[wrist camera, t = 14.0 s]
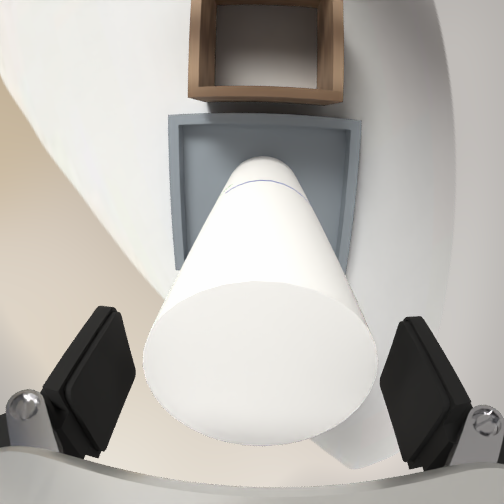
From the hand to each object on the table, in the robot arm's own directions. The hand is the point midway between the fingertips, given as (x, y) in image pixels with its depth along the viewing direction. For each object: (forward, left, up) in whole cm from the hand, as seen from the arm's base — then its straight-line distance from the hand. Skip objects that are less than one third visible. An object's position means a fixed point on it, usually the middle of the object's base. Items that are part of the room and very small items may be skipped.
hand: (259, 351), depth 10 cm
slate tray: (0, 0, -25) cm, 25 cm away
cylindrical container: (0, 0, -24) cm, 24 cm away
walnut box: (-15, 0, -25) cm, 29 cm away
